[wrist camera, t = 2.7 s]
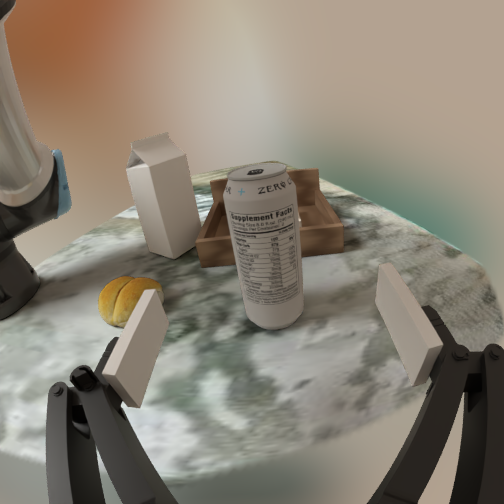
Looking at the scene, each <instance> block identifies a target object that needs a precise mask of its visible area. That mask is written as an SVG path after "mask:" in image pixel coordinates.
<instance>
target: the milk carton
mask: <svg viewBox="0 0 504 504" xmlns="http://www.w3.org/2000/svg"><path fill="white" fill-rule="evenodd" d="M131 148H132V151H131V154H130V157H129V161H128V164H127V167H126V171H127V176H128V180H129V183H130V187H131V191H132V195H133V198H134V202H135V206H136V209H137V213H138V216H139V219H140V223H141V226H142V229H143V232H144V236H145V239H146V242H147V245H148V248H149V251H150V252H153V253H156V254H159V255H162V256H165V257H168V258H172V259H176V258H177V257H179V256H180V255H182V254H184V253H185V252H187V251H188V250H190V249H191V248H193V247H194V246H196V244H195V242H196V240H197V237H198V235H199V233H200V231H201V229H202V227H201V222H200V218H199V214H198V209H197V205H196V200H195V196H194V191H193V186H192V182H191V177H190V172H189V167H188V163H187V158H186V154H185V153H184V152H183V151H182V150H181V149H180V148H179V147H178V146H177V145H176V144H175V143H174V142H172V141H171V140H170V139H169V136H168V133H163V134H159V135H155V136H152V137H148V138H145V139H141V140H138V141H135V142H131Z"/></svg>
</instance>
